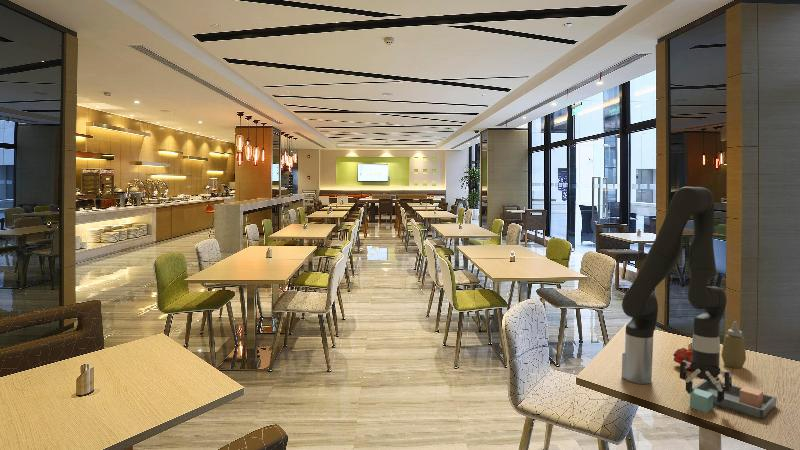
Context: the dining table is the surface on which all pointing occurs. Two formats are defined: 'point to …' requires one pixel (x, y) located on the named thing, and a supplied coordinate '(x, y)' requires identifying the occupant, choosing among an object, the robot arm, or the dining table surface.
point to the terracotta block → (751, 397)
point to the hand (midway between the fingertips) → (704, 397)
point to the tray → (733, 400)
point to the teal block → (701, 400)
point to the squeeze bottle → (734, 348)
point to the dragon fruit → (683, 356)
